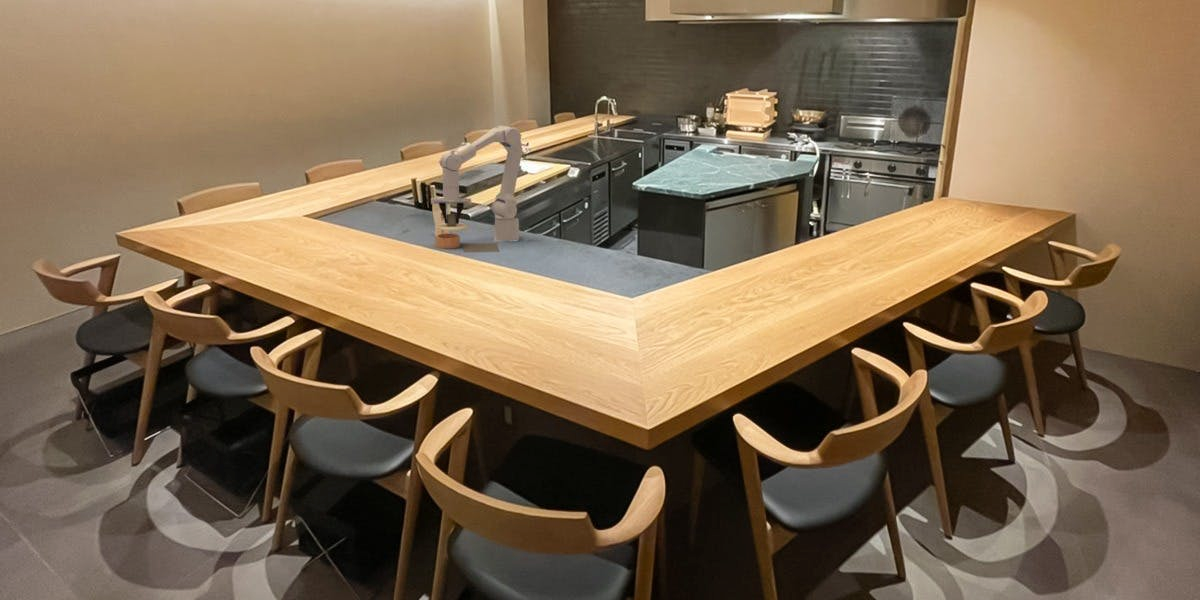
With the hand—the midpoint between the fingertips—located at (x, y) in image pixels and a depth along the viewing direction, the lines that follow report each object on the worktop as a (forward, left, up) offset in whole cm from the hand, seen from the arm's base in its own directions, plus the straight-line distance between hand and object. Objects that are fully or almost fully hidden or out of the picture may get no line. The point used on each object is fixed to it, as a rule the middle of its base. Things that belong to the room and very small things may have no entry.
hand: (451, 223), depth 250 cm
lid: (0, 0, -2) cm, 2 cm away
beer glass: (+4, -19, -9) cm, 21 cm away
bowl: (+2, -1, -9) cm, 9 cm away
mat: (-10, +3, -9) cm, 14 cm away
